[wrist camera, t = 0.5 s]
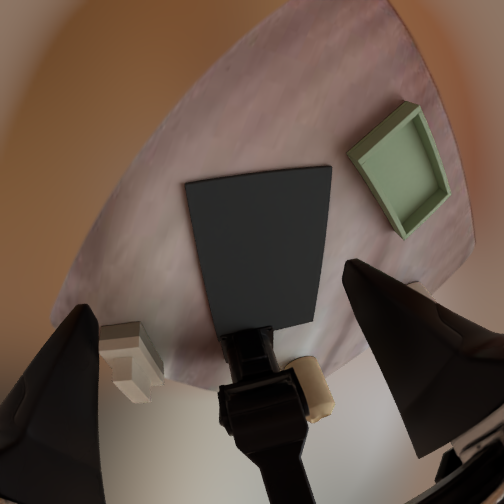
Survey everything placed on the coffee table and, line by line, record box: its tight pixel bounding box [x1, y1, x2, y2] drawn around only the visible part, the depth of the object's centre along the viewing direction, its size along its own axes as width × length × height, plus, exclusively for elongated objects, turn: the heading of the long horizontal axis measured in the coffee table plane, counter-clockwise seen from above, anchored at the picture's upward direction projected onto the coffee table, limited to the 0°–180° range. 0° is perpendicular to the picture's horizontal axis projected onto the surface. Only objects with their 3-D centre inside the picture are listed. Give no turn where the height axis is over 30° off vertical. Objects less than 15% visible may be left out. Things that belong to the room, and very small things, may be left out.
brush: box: [99, 322, 164, 403], centre depth 28 cm, size 9×5×6 cm, turn 3°
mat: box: [185, 166, 332, 341], centre depth 27 cm, size 20×12×1 cm, turn 3°
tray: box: [346, 101, 451, 240], centre depth 23 cm, size 12×8×2 cm
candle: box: [284, 356, 335, 423], centre depth 38 cm, size 6×6×10 cm
